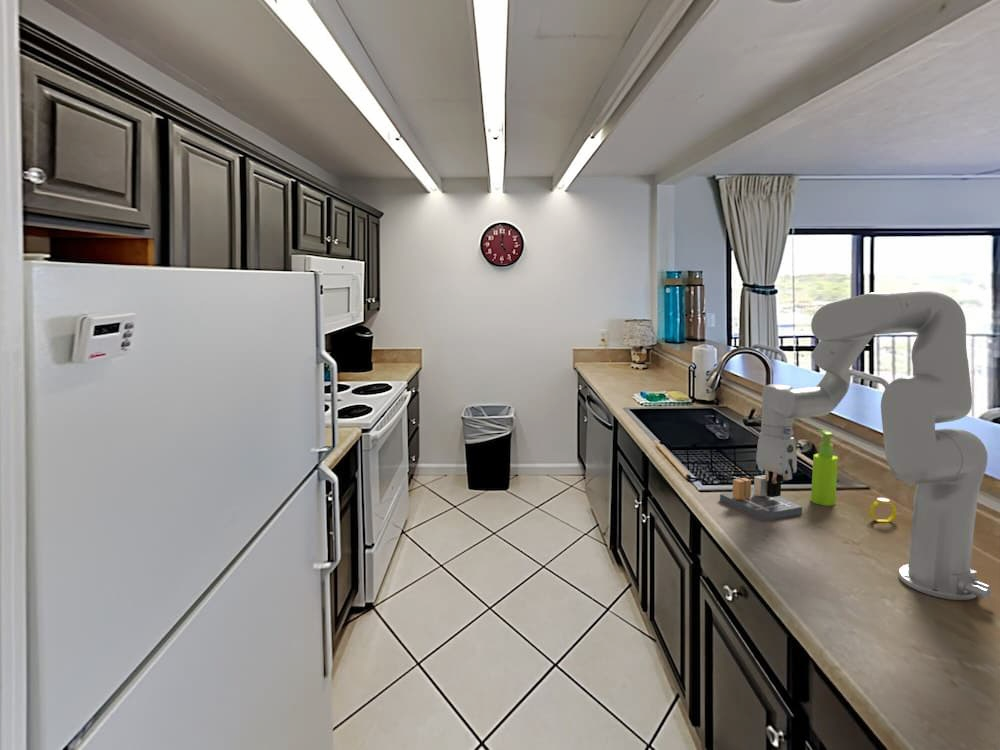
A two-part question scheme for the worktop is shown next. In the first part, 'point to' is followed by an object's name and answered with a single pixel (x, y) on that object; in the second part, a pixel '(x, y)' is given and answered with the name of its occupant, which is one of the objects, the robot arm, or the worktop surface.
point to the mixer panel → (762, 506)
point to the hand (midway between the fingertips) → (773, 495)
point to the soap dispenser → (824, 473)
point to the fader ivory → (760, 485)
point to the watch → (883, 501)
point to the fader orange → (741, 488)
